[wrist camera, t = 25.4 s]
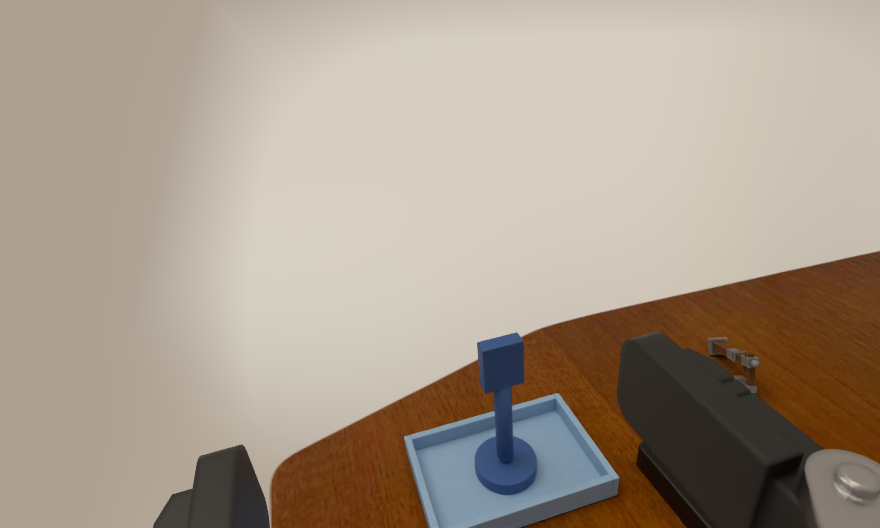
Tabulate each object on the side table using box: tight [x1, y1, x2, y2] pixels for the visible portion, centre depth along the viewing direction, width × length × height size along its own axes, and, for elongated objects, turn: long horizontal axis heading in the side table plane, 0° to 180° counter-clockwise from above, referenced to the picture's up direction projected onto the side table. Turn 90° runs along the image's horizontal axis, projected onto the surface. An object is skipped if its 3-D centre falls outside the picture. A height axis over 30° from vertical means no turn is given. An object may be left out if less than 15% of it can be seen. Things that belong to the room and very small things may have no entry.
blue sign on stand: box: [475, 333, 537, 495], centre depth 40 cm, size 5×5×14 cm
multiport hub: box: [637, 441, 718, 528], centre depth 37 cm, size 4×14×2 cm, turn 17°
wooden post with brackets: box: [709, 338, 760, 394], centre depth 51 cm, size 2×8×4 cm, turn 177°
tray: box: [404, 393, 619, 528], centre depth 43 cm, size 15×10×2 cm
